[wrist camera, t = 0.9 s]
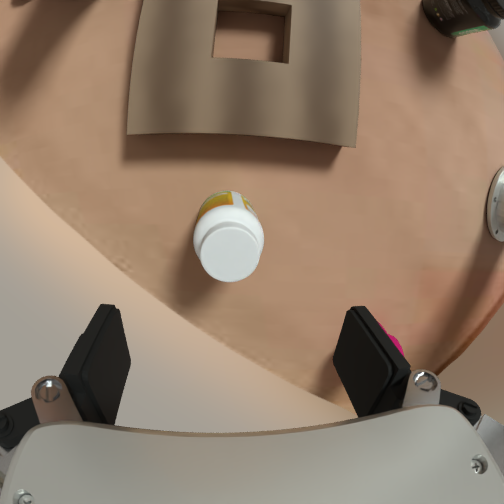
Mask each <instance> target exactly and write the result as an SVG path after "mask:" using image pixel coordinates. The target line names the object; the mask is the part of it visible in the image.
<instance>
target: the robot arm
mask: <svg viewBox="0 0 504 504" xmlns="http://www.w3.org/2000/svg"><path fill="white" fill-rule="evenodd" d="M487 222H488V228H489V231H490V233H491V235H492V237H494V238H495V239H496V240H498V241H500V242H504V166H503V167H502V168H501V169H500V170H499V171H498V173H497V174H496V176H495V178H494V180H493V182H492V185H491V188H490V192H489V197H488V204H487ZM333 364H334V366H335V368H336V370H337V373H338V375H339V377H340V379H341V381H342V383H343V385H344V387H345V390H346V392H347V394H348V396H349V398H350V400H351V402H352V405H353V407H354V409H355V411H356V413H357V415H358V418H355V419H350V420H345V421H340V422H334V423H329V424H323V425H317V426H310V427H302V428H293V429H284V430H273V431H259V432H240V433H193V432H190V433H189V432H173V431H172V432H171V431H160V430H148V429H139V428H130V427H122V426H115V425H114V424H115V420H116V416H117V412H118V408H119V404H120V401H121V397H122V393H123V390H124V386H125V383H126V379H127V376H128V372H129V369H130V365H131V359H130V355H129V350H128V346H127V342H126V337H125V333H124V328H123V324H122V319H121V314H120V310H119V309H116V307H115V305H109V304H101V305H100V306H99V308H98V309H97V311H96V313H95V314H94V316H93V318H92V320H91V321H90V323H89V325H88V327H87V328H86V330H85V332H84V333H83V334H81V336H80V337H79V339H78V341H77V342H76V344H75V346H74V348H73V350H72V352H71V353H70V355H69V357H68V359H67V361H66V363H65V365H64V367H63V369H62V371H61V373H60V375H59V377H56V376H45V377H42V378H40V379H39V380H37V381H36V383H34V385H33V387H32V390H31V396H32V397H31V398H29V399H27V400H24V401H22V402H20V403H17V404H15V405H13V406H10V407H8V408H6V409H3V410H1V411H0V504H504V426H503V425H502V424H500V423H498V422H497V421H495V420H494V419H492V418H490V417H489V416H487V415H486V414H484V415H483V416H481V410H480V407H479V406H478V405H477V403H475V402H474V401H473V400H471V399H468V398H465V397H462V396H459V395H456V394H454V393H451V392H448V391H445V390H442V389H441V384H440V380H439V378H438V377H437V376H436V375H435V374H434V373H432V372H430V371H428V370H424V369H417V370H415V371H413V372H411V370H410V367H411V366H410V364H409V363H408V362H407V360H406V359H405V358H404V356H403V355H402V354H401V352H400V351H399V350H398V348H397V347H396V346H395V344H394V343H393V342H392V340H391V339H390V338H389V336H388V335H387V334H386V332H385V331H384V330H383V328H382V327H381V326H380V325H379V323H378V322H377V321H376V319H375V318H374V317H373V316H372V314H371V313H370V312H369V310H368V309H367V308H366V307H365V306H353V307H351V308H350V310H348V311H347V312H346V316H345V319H344V323H343V326H342V330H341V333H340V336H339V340H338V343H337V346H336V349H335V353H334V356H333Z"/></svg>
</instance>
